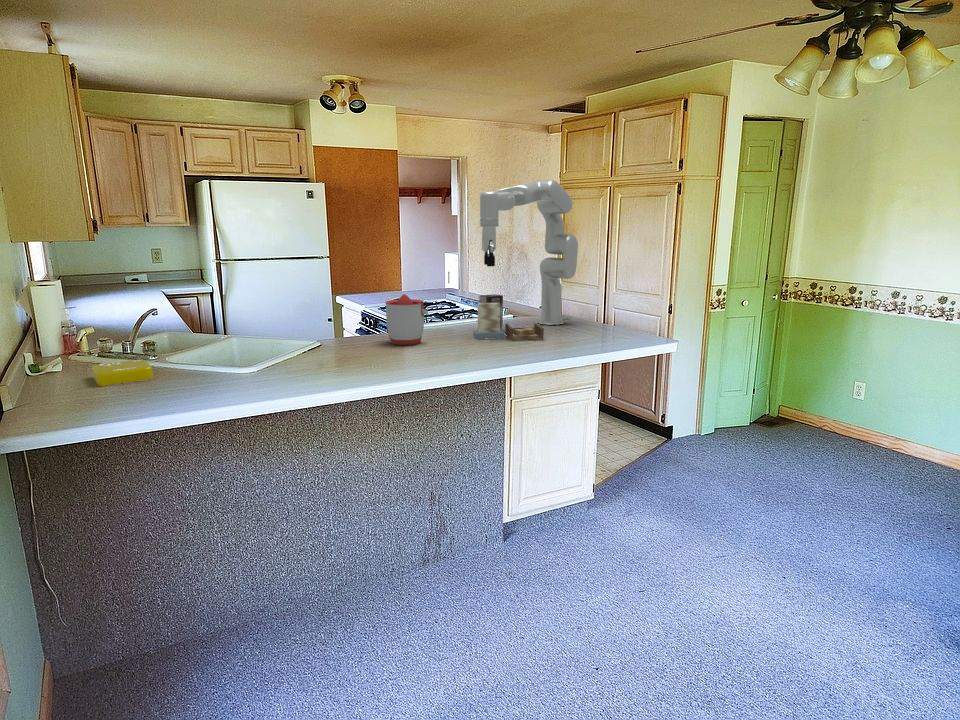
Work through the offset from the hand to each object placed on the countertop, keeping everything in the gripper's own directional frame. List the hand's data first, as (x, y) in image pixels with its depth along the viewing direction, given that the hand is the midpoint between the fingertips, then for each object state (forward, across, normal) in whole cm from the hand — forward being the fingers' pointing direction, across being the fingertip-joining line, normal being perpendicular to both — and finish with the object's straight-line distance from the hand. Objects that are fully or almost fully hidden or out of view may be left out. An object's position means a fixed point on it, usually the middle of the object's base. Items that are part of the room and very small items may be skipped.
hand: (489, 265), depth 248 cm
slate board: (+30, 0, -1) cm, 30 cm away
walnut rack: (+31, +2, +14) cm, 34 cm away
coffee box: (+31, -16, +2) cm, 35 cm away
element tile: (+30, +55, -124) cm, 139 cm away
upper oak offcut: (+29, +5, +14) cm, 32 cm away
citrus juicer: (+30, +8, -35) cm, 47 cm away
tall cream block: (+28, 0, 0) cm, 28 cm away
